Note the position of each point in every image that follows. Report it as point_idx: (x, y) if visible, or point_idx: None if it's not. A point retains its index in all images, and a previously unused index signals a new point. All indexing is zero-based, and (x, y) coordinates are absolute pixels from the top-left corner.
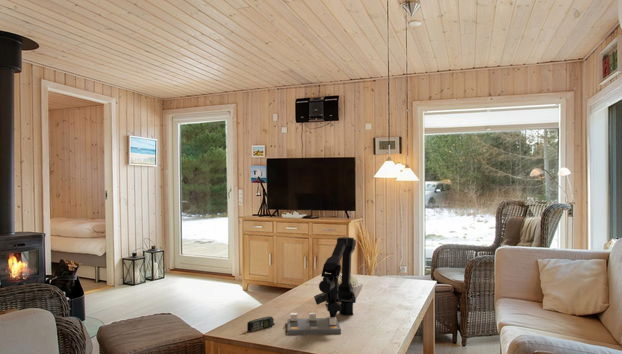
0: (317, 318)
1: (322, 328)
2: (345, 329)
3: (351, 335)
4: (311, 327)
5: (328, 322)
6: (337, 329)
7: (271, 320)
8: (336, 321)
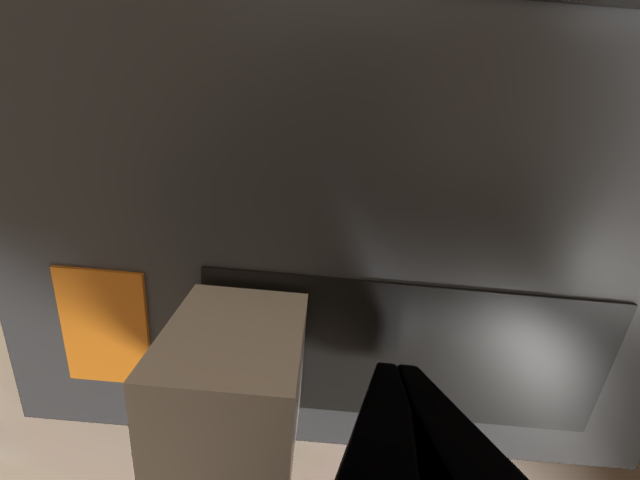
0: None
1: (14, 80)
2: None
3: (24, 462)
4: None
5: (403, 291)
6: (12, 365)
7: None
8: None
